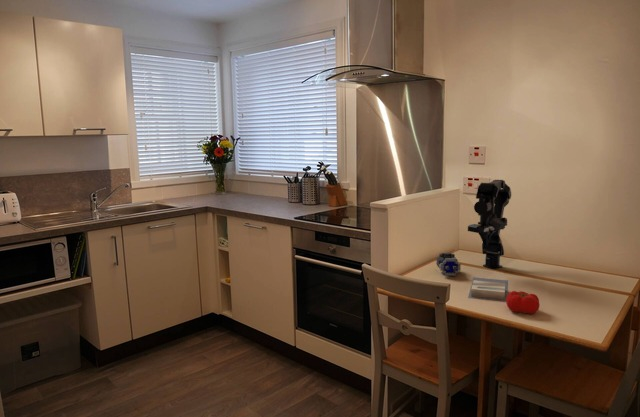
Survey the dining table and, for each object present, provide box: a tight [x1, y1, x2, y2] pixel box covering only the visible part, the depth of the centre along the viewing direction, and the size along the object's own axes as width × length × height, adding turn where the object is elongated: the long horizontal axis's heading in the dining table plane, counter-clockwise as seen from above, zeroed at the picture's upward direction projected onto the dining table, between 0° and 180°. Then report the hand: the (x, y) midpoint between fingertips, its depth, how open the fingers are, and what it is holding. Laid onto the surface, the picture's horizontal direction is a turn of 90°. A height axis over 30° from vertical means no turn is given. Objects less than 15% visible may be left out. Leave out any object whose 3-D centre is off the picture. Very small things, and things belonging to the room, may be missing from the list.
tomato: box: [505, 290, 540, 315], centre depth 166 cm, size 10×11×6 cm
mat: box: [467, 277, 509, 303], centre depth 190 cm, size 28×14×1 cm, turn 158°
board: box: [470, 280, 505, 300], centre depth 184 cm, size 3×12×12 cm
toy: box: [435, 252, 462, 277], centre depth 211 cm, size 9×9×15 cm
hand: (485, 245), depth 210 cm, fingers closed
